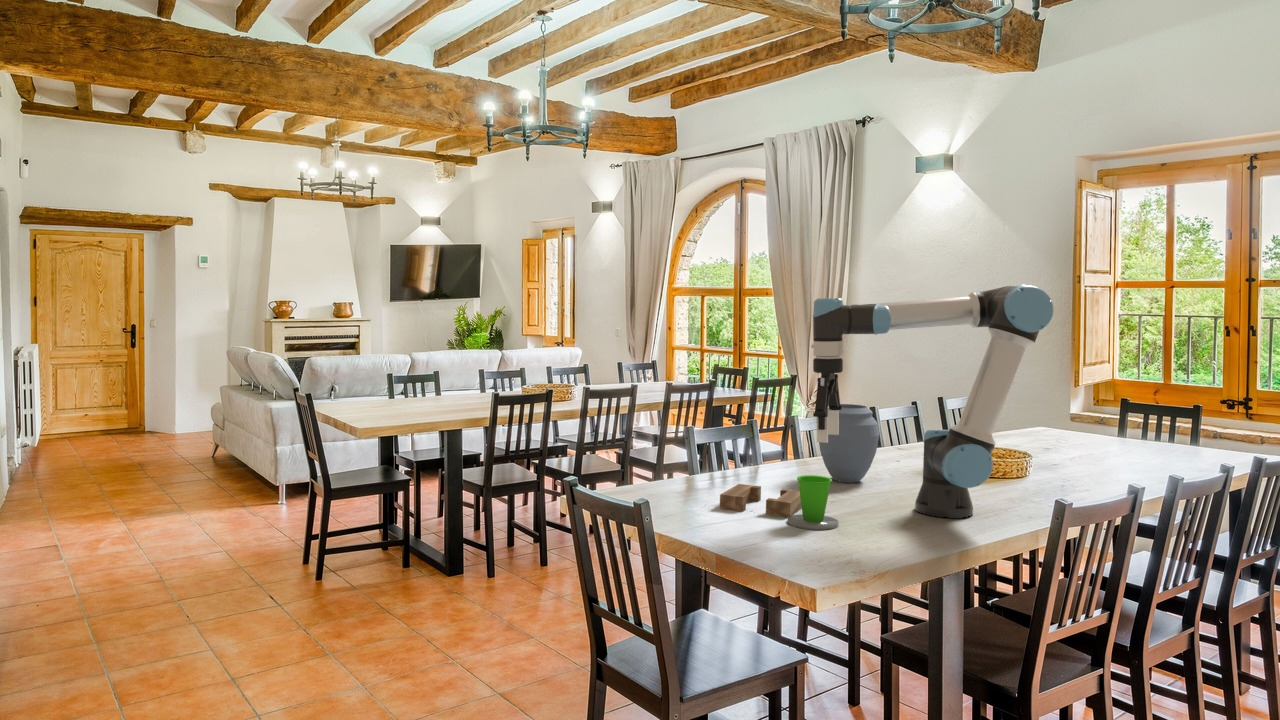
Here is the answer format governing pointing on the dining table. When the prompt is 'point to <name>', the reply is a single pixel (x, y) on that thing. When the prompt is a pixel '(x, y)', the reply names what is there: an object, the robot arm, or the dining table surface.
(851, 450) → the vase
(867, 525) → the dining table surface
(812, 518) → the cup
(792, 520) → the coaster
